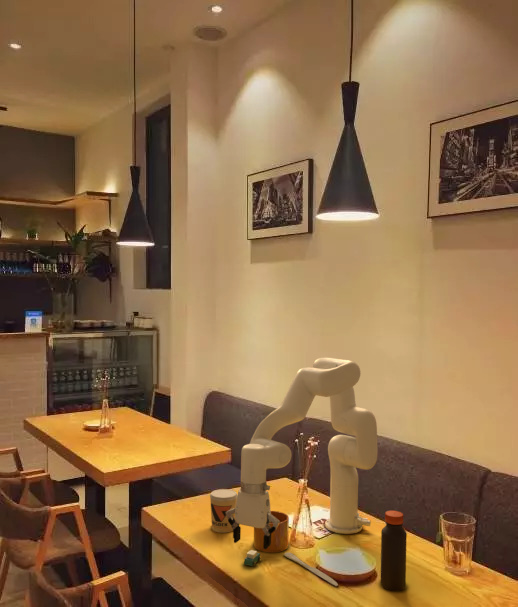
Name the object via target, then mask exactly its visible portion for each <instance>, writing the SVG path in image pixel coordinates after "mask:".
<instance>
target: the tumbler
mask: <svg viewBox="0 0 518 607" xmlns="http://www.w3.org/2000/svg"><path fill="white" fill-rule="evenodd" d="M271 514H272V515H273V516H274V517H275V518H277V519H278V520H279V521H280V523H279V525H278V527H277V529H276V530H275V531H274V532H272V533H271V545H270V546H269V547H268V548H267V549H264V548H263V543H264V535H265V533H264V531H263V530H262V528H256V527H253V547H254V548H255V549H256V550H258V551H260V552H263V553H279V552H283V551H285V550H287V549H288V548H289V538H290V537H289V536H290V535H289V533H290V532H289V531H290V530H289V528H290V526H289V525H290V516H289V515H288V514H287V513H285V512H282V511H277V510H271ZM269 525H270V527H271V528H272V526H273V522H270V523H269Z"/></svg>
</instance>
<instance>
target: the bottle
mask: <svg viewBox="0 0 518 607" xmlns="http://www.w3.org/2000/svg"><path fill="white" fill-rule="evenodd" d="M384 523H385V526H384V527H383V528H382V529H381V533H380V534H381V535H380V537H381V538H380V580H379V581H380V585H381V587H382V588H384V589H385V590H387V591H391V592H392V591H393V592H398V591H399V592H400V591H402V590H404V589H405V588H406V585H407V582H406V581H407V539H408V538H407V531H406V530H405V528H403V525H404V513H403V512H401V511H398V510H387V511H385V513H384Z"/></svg>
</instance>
